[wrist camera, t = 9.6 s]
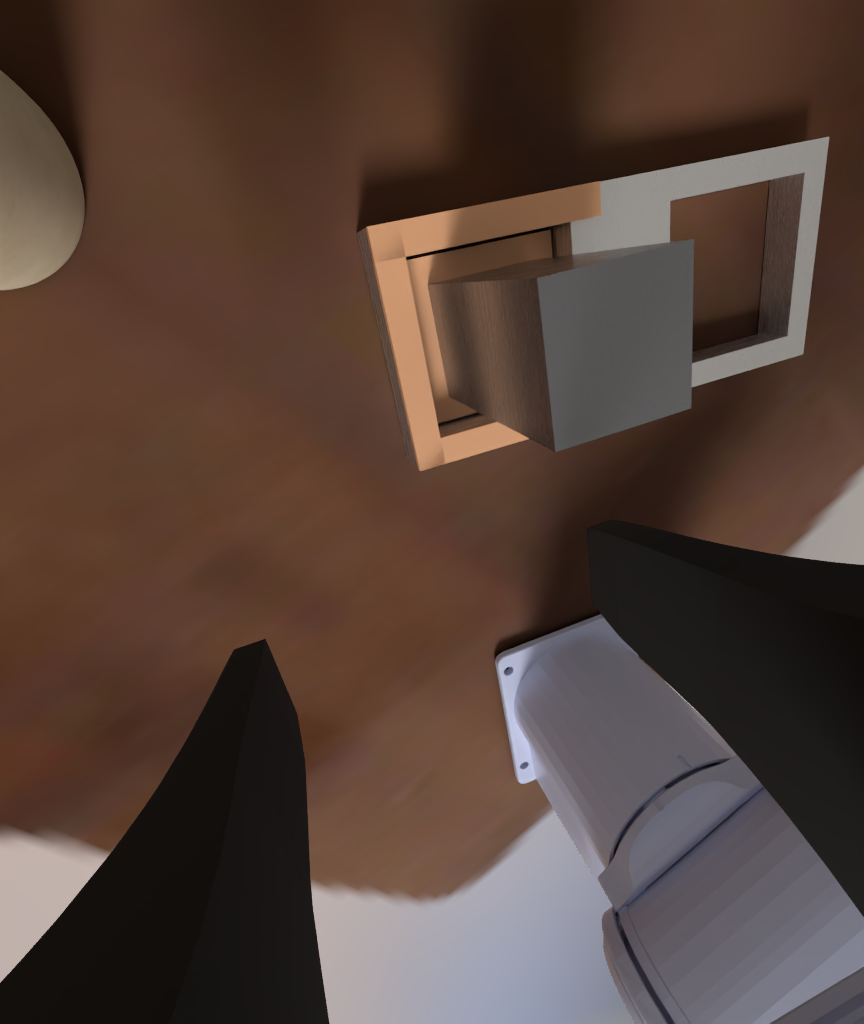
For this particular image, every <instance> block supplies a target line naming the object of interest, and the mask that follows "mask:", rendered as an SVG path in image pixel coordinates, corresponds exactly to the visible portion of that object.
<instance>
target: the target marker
mask: <svg viewBox="0 0 864 1024" xmlns="http://www.w3.org/2000/svg"><path fill="white" fill-rule="evenodd" d="M600 215H601V194H600V181H597V182H592V183H587V184H582V185H577V186H572V187H566V188H561V189H556V190H551V191H546V192H541V193H536V194H531V195H526V196H521V197H516V198H510V199H505V200H500V201H495V202H490V203H485V204H480V205H475V206H470V207H465V208H460V209H454V210H449V211H444V212H439V213H434V214H429V215H424V216H419V217H414V218H409V219H404V220H398V221H393V222H388V223H383V224H378V225H373V226H368V227H366V228H365V229H366V234H367V238H368V243H369V248H370V252H371V257H372V261H373V266H374V271H375V275H376V280H377V284H378V289H379V293H380V298H381V303H382V307H383V312H384V316H385V321H386V325H387V330H388V335H389V339H390V344H391V348H392V353H393V357H394V362H395V367H396V371H397V376H398V380H399V385H400V390H401V394H402V399H403V403H404V408H405V412H406V417H407V422H408V426H409V431H410V435H411V440H412V444H413V449H414V454H415V458H416V463H417V467H418V470H419V471H423V470H426V469H429V468H433V467H436V466H439V465H443V464H446V463H449V462H453V461H456V460H459V459H463V458H466V457H469V456H473V455H476V454H480V453H483V452H486V451H490V450H493V449H496V448H500V447H503V446H506V445H510V444H513V443H516V442H520V441H523V440H526V439H529V438H527V437H525V436H524V435H522V434H520V433H518V432H516V431H514V430H512V429H510V428H508V427H506V426H504V425H502V424H501V423H499V422H497V421H495V420H493V421H489V422H486V423H482V424H479V425H475V426H472V427H468V428H465V429H461V430H458V431H454V432H451V433H447V434H444V435H440V433H439V427H438V423H441V422H445V421H449V420H452V419H456V418H459V417H463V416H466V415H470V414H473V413H477V412H478V411H476V410H474V409H472V408H470V407H468V406H466V405H464V404H462V403H460V402H458V401H457V400H455V399H453V398H451V397H449V394H448V389H447V384H446V379H445V373H444V368H443V363H442V358H441V353H440V348H439V342H438V337H437V332H436V327H435V322H434V316H433V311H432V306H431V301H430V296H429V290H428V285H429V284H433V283H437V282H442V281H446V280H450V279H454V278H458V277H462V276H466V275H471V274H475V273H479V272H483V271H487V270H491V269H495V268H500V267H504V266H508V265H512V264H516V263H520V262H524V261H529V260H535V259H543V258H550V257H553V256H552V243H551V231H550V230H546V231H542V232H537V233H532V234H528V235H523V236H518V237H513V238H509V239H504V240H499V241H495V242H490V243H485V244H481V245H476V246H471V247H467V248H462V249H457V250H452V251H448V252H443V253H438V254H434V255H429V256H424V257H420V258H415V259H410V260H406V256H411V255H416V254H421V253H425V252H430V251H435V250H440V249H444V248H449V247H454V246H459V245H463V244H468V243H473V242H477V241H482V240H487V239H492V238H496V237H501V236H506V235H511V234H515V233H520V232H525V231H529V230H534V229H539V228H544V227H548V226H553V225H558V224H563V223H567V222H572V221H577V220H582V219H586V218H591V217H596V216H600Z"/></svg>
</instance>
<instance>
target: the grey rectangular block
mask: <svg viewBox="0 0 864 1024" xmlns="http://www.w3.org/2000/svg"><path fill="white" fill-rule="evenodd" d="M693 276H694V239H690V240H682V241H675V242H667V243H659V244H651V245H643V246H636V247H628V248H620V249H612V250H605V251H597V252H589V253H581V254H574V255H566V256H558V257H550V258H543V259H535V260H529V261H524V262H520V263H516V264H512V265H508V266H504V267H500V268H495V269H491V270H487V271H483V272H479V273H475V274H471V275H466V276H462V277H458V278H454V279H450V280H446V281H442V282H437V283H433V284H429V285H428V290H429V296H430V301H431V306H432V311H433V316H434V322H435V327H436V332H437V337H438V342H439V348H440V353H441V358H442V363H443V368H444V373H445V379H446V384H447V389H448V394H449V397H451V398H453V399H455V400H457V401H458V402H460V403H462V404H464V405H466V406H468V407H470V408H472V409H474V410H476V411H478V412H480V413H481V414H483V415H485V416H487V417H489V418H491V419H493V420H495V421H497V422H499V423H501V424H502V425H504V426H506V427H508V428H510V429H512V430H514V431H516V432H518V433H520V434H522V435H524V436H525V437H527V438H529V439H531V440H533V441H535V442H537V443H539V444H541V445H543V446H545V447H547V448H548V449H550V450H552V451H554V452H558V451H561V450H564V449H567V448H570V447H573V446H576V445H579V444H582V443H585V442H589V441H592V440H595V439H598V438H601V437H604V436H607V435H610V434H613V433H616V432H620V431H623V430H626V429H629V428H632V427H635V426H638V425H641V424H644V423H647V422H651V421H654V420H657V419H660V418H663V417H666V416H669V415H672V414H675V413H678V412H682V411H685V410H688V409H691V395H692V335H693Z"/></svg>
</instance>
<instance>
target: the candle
mask: <svg viewBox="0 0 864 1024" xmlns="http://www.w3.org/2000/svg"><path fill="white" fill-rule="evenodd" d="M84 217H85V200H84V193H83V186H82V183H81V179H80V175H79V172H78V169H77V167H76V164H75V162H74V159H73V157H72V155H71V153H70V151H69V149H68V147H67V145H66V143H65V141H64V140H63V138H62V136H61V135H60V133H59V132H58V130H57V129H56V127H55V126H54V124H53V123H52V122H51V120H50V119H49V118H48V117H47V115H46V114H45V113H44V112H43V110H42V109H41V108H40V107H39V106H38V105H37V104H36V103H35V102H34V101H33V100H32V99H31V98H30V97H29V96H28V95H27V94H26V93H25V92H24V91H23V90H22V89H21V88H20V87H19V86H18V85H17V84H16V83H15V82H14V81H12V80H11V79H10V78H9V77H8V76H7V75H6V74H5V73H3V72H2V71H1V70H0V290H11V289H16V288H22V287H25V286H28V285H31V284H35V283H37V282H39V281H41V280H43V279H45V278H47V277H49V276H50V275H52V274H53V273H54V272H56V271H57V270H58V269H60V268H61V267H62V266H63V265H64V264H65V263H66V262H67V260H68V259H69V258H70V256H71V255H72V253H73V252H74V251H75V248H76V246H77V244H78V242H79V240H80V237H81V233H82V230H83V225H84Z"/></svg>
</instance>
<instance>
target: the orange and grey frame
mask: <svg viewBox="0 0 864 1024" xmlns="http://www.w3.org/2000/svg"><path fill="white" fill-rule="evenodd" d="M828 144H829V137H824V138H819V139H814V140H809V141H804V142H799V143H794V144H789V145H784V146H779V147H774V148H768V149H763V150H758V151H753V152H748V153H743V154H738V155H733V156H728V157H723V158H718V159H713V160H707V161H702V162H697V163H692V164H687V165H682V166H677V167H672V168H667V169H662V170H657V171H652V172H646V173H641V174H636V175H631V176H626V177H621V178H616V179H611V180H606V181H601V182H600V194H601V215H600V216H596V217H591V218H586V219H582V220H577V221H572V222H567V223H563V224H558V225H553V226H548V227H549V230H550V231H551V243H552V256H553V257H558V256H566V255H574V254H581V253H589V252H597V251H605V250H612V249H620V248H628V247H636V246H643V245H651V244H659V243H667V242H670V201H674V200H678V199H683V198H688V197H693V196H697V195H702V194H707V193H711V192H716V191H721V190H726V189H730V188H735V187H740V186H745V185H749V184H754V183H759V182H763V181H768V180H770V185H769V198H768V210H767V223H766V235H765V247H764V260H763V272H762V284H761V297H760V309H759V321H758V334H755V335H751V336H748V337H744V338H741V339H737V340H734V341H730V342H726V343H723V344H719V345H716V346H712V347H709V348H705V349H702V350H698V351H695V352H692V387H695V386H698V385H701V384H705V383H708V382H712V381H715V380H718V379H722V378H725V377H728V376H732V375H735V374H738V373H742V372H745V371H749V370H752V369H755V368H759V367H762V366H765V365H769V364H772V363H775V362H779V361H782V360H786V359H789V358H792V357H796V356H799V355H802V354H803V352H804V344H805V335H806V327H807V319H808V310H809V302H810V294H811V285H812V277H813V269H814V260H815V252H816V244H817V235H818V227H819V219H820V210H821V202H822V194H823V185H824V177H825V169H826V160H827V152H828ZM544 228H546V227H544ZM539 229H541V228H539ZM534 230H537V229H534ZM529 231H532V230H529ZM525 232H527V231H525ZM520 233H522V232H520ZM515 234H518V233H515ZM511 235H513V234H511ZM506 236H508V235H506ZM357 237H358V241H359V245H360V250H361V254H362V259H363V263H364V268H365V272H366V276H367V281H368V285H369V290H370V294H371V299H372V303H373V307H374V312H375V316H376V321H377V325H378V330H379V334H380V338H381V343H382V347H383V352H384V356H385V361H386V365H387V370H388V374H389V378H390V383H391V387H392V392H393V396H394V401H395V405H396V409H397V414H398V418H399V423H400V427H401V432H402V436H403V440H404V445H405V449H406V454H407V458H408V459H409V460H410V461H411V462H412V463H413V464H414V465H415V466H416V467H417V463H416V458H415V454H414V449H413V444H412V440H411V435H410V431H409V426H408V422H407V417H406V412H405V408H404V403H403V399H402V394H401V390H400V385H399V380H398V376H397V371H396V367H395V362H394V357H393V353H392V348H391V344H390V339H389V335H388V330H387V325H386V321H385V316H384V312H383V307H382V303H381V298H380V293H379V289H378V284H377V280H376V275H375V271H374V266H373V261H372V257H371V252H370V248H369V243H368V238H367V234H366V229H365V228H364V229H362V230H361V231H359V232H358V233H357ZM501 237H503V236H501ZM496 238H499V237H496ZM492 239H494V238H492ZM487 240H489V239H487ZM482 241H485V240H482ZM477 242H480V241H477ZM473 243H475V242H473ZM468 244H470V243H468ZM463 245H466V244H463ZM459 246H461V245H459ZM454 247H456V246H454ZM449 248H451V247H449ZM444 249H447V248H444ZM440 250H442V249H440ZM435 251H437V250H435ZM430 252H433V251H430ZM425 253H428V252H425ZM421 254H423V253H421ZM416 255H418V254H416ZM411 256H414V255H411ZM406 257H409V256H406ZM489 421H493V419H491V418H489V417H487V416H485V415H483V414H481V413H480V412H478V413H474V414H471V415H467V416H464V417H460V418H457V419H453V420H449V421H446V422H442V423H439V424H438V427H439V433H440V435H444V434H447V433H451V432H454V431H458V430H461V429H465V428H468V427H472V426H475V425H479V424H482V423H486V422H489ZM417 468H418V467H417Z"/></svg>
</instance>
